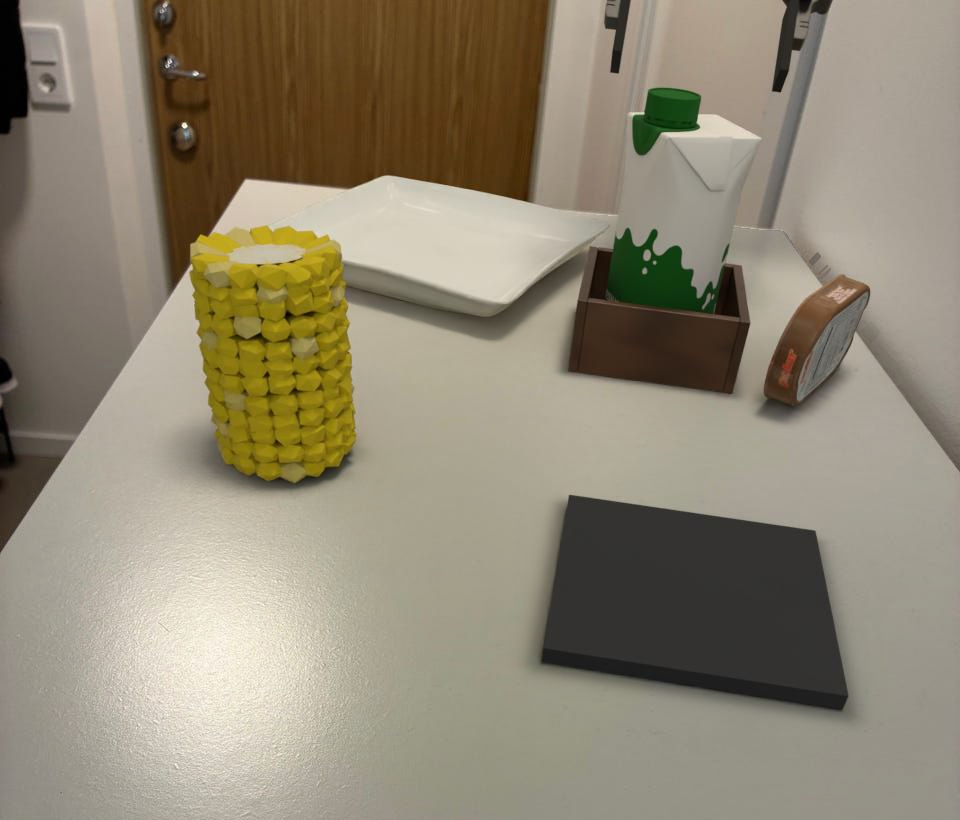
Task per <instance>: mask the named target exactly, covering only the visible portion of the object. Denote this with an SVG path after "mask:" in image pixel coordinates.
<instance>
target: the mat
mask: <svg viewBox="0 0 960 820" xmlns="http://www.w3.org/2000/svg"><path fill="white" fill-rule="evenodd" d="M566 504H567V505H566V510H565V517H564V522H563V528H562V534H561V535H562V536H561V539H560V547H559V551H558V557H557V564H556V570H555V576H554V582H553V588H552V594H551V600H550V606H549V612H548V619H547V623H546V630H545V636H544V642H543V648H542V654H541V662H542V663H547V664H554V665H560V666H566V667H571V668H572V667H573V668H578V669H585V670H590V671H598V672H604V673H610V674H615V675H623V676H629V677H634V678H635V677H636V678H640V679H641V678H642V679H647V680H654V681H661V682H667V683H674V684H679V685H686V686H693V687H698V688H705V689H712V690H717V691H723V692H731V693H735V694H736V693H737V694H744V695H749V696H755V697H761V698H768V699H774V700H780V701H787V702H793V703H798V704H799V703H800V704H805V705H812V706H818V707H819V706H820V707H824V708H829V709H830V708H831V709H837V710H844V708H845V706H846V703H847V701H848V699H849V692H848V686H847V681H846V675H845V671H844V667H843V662H842V656H841V651H840V646H839V642H838V637H837V631H836V626H835V622H834V617H833V612H832V607H831V601H830V597H829V592H828V587H827V582H826V581H827V580H826V576H825V572H824V571H825V570H824V566H823V562H822V556H821V551H820V546H819V541H818V536H817V531H816V530H814V529H807V528H800V527H794V526H786V525H779V524H774V523H773V524H772V523H767V522H760V521H754V520H746V519H739V518H732V517H725V516H719V515H711V514H706V513H700V512H699V513H698V512H692V511H684V510H677V509H670V508H664V507H657V506H650V505H644V504H636V503H629V502H622V501H615V500H610V499H601V498H595V497H588V496H582V495H575V494H568V500H567V503H566Z"/></svg>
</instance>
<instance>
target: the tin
mask: <svg viewBox="0 0 960 820" xmlns="http://www.w3.org/2000/svg"><path fill="white" fill-rule="evenodd" d="M870 299H871V287H870V286H869V285H867V284H866V283H864V282H861V281H859V280H856V279H853V278H850V277H848V276H846V275H845V274H843V273H841V274H838V275H837V276H836V277H834V278H833V279H831V280H829V281H828V282H827V283H826V284H824V285H823V286H821V287H819V288H818V289H817V290H815V291H814V292H813V293H811V294H810V295H808V296H807V297H806V298H804V299H803V301H802V302H801V303H800V304H799V306H798V307H797V308H796V310H795V311H794V313H793V315H792V316H791V318H790V319H789V321H788V322H787V324H786V326H785V327H784V330H783V332H782V334H781V336H780V338H779V340H778V342H777V345H776V347H775V349H774V350H773V354H772V356H771V359H770V363H769V365H768V367H767V372H766V375H765V380H764V384H763V395H764V397H766V398H767V399H773V400H775V401H778V402H780V403H783V404H785V405H787V406H791V407H797V406H799V405H801V404H802V403H804V401H806V400H807V399H808V398H809V397H810V396H811V395H812V394H814V393H815V392H816V391H818V389H819V388H820V387H821V386H823V385H824V384H825V383H826V382H827V381H828V380H830V378H831V377H832V376H834V374H835V372H836V371H837V370H838V369H839V367H840V365H841V364H842V363H843V361H844V359H845V358H846V355H847V354H848V352H849V350H850V348H851V346H852V343H853V341H854V336H855V334H856V331H857V328H858V326H859V323H860V321H861V320H862V319H861V318H862V316H863V314H864V311H865V310H866V308H867V306H868V305H869V303H870V302H869V301H870Z"/></svg>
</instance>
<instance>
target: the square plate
mask: <svg viewBox="0 0 960 820" xmlns="http://www.w3.org/2000/svg"><path fill="white" fill-rule="evenodd" d="M267 226H268V227H269V228H270V229H271V230H272V232H274V229H278V228H282V227H286V226H290V227H291V228H293V229H294V230H296V231H297V232H298V231H313V232H314V233H315V235H316V236H317V237H318V238H320V237H323V236H325V235H327V234H328V236H329V238H330V240H333V239H334V240H335V241H336V242H338V243H339V244H340V245H341V252H342V260H341V262H342V264H343V265H344V267H343V281H344V282H346V283H347V284H346V287H350V288H354V289H358V290H362V291H366V292H370V293H374V294H378V295H381V296H385V297H389V298H393V299H396V300H400V301H405V302H408V303H412V304H415V305H419V306H423V307H427V308H430V309H436V310H439V311H445V312H449V313H450V312H451V313H458V314H459V313H460V314H466V315H471V316H477V317H481V318H483V317H484V318H488V317H492V316H495V315H497V314H499V313H501V312H503V311H504V310H505V309H507V308H508V307H509V306H511V305H512V304H514V303H515V302H516V301H517V300H518V299H519V298H520V297H521V296H523V294H524V293H526V292H527V291H528V290H529V289H530V288H531V287H532V286H534V285H535V284H536V283H537V282H539V281H540V280H542V279H543V278H544V277H545V276H547V275H548V274H550V273H551V272H553V271H554V270H555V269H557V268H558V267H560V266H561V265H563V264H564V263H566V262H568V261H569V260H571V259H572V258H573V257H575V256H577V255H578V254H580V253H581V252H582V251H583V250H585V249H586V248H587V247H588V246H589V245H591V244H592V243H593V242H594V241H595V240H596V239H597V237H599V236H601V235H603V234H604V233H605V232H607V231H608V230H609V229H610V227H611V225H610V223H609V222H607V221H604V220H601V219H600V220H599V219H595V218H592V217H587V216H585V215H584V216H583V215H579V214H576V213H572V212H569V211H568V212H567V211H564V210H560V209H556V208H553V207H548V206H545V205H541V204H538V203H537V204H536V203H533V202H528V201H524V200H520V199H516V198H511V197H507V196H503V195H497V194H493V193H489V192H484V191H478V190H474V189H467V188H463V187H457V186H453V185H446V184H441V183H436V182H429V181H424V180H417V179H412V178H407V177H403V176H401V177H400V176H396V175H388V174H387V175H382V176H380V177H379V176H378V177H376V178H374V179H372V180H370V181H366V182H364V183H362V184H359V185H357V186H354V187H351V188H348V189H347V190H345V191H342V192H340V193H337V194H335V195H332V196H330V197H328V198H326V199H323V200H321V201H319V202H316V203H314V204H312V205H310V206H308V207H305V208H303V209H301V210H299V211H297V212H295V213H292V214H290V215H288V216H286V217H283V218H282V219H279V220H277V221H275V222H274V223H273V222H272V223H271V224H269V225H267Z"/></svg>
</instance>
